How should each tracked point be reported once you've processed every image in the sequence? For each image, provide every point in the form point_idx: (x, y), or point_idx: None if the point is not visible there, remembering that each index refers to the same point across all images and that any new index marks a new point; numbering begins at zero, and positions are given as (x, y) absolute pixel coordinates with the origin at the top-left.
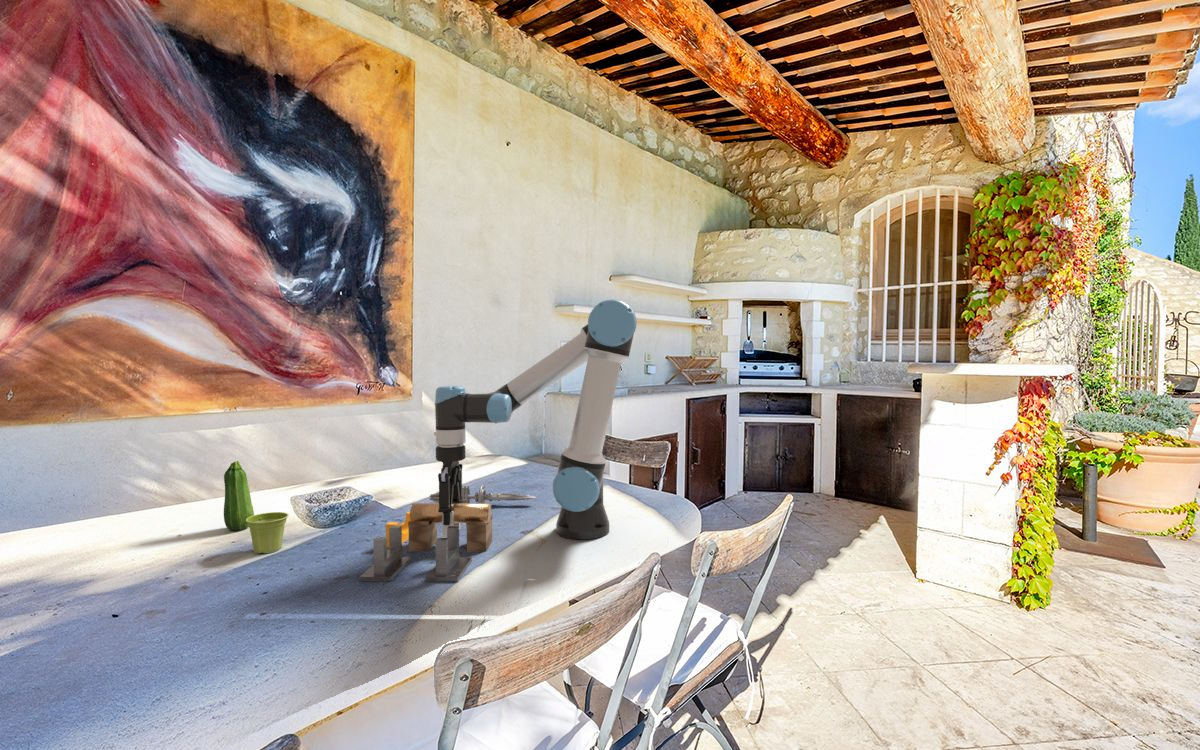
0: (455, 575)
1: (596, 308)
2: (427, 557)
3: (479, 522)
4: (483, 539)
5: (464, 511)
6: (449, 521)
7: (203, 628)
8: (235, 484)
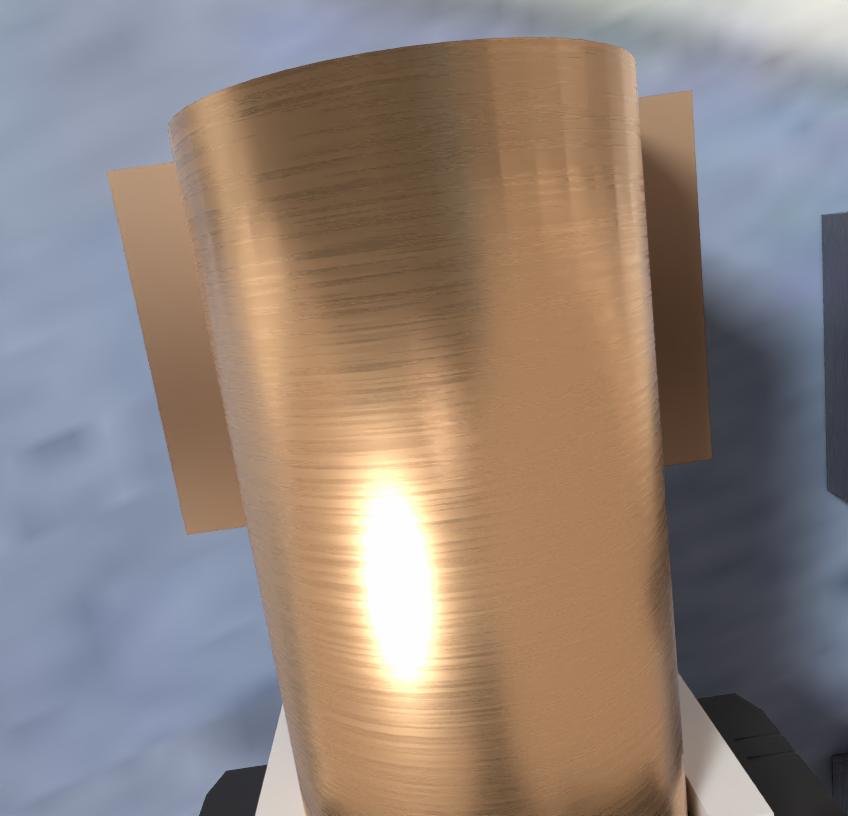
0: None
1: None
2: (737, 667)
3: (698, 216)
4: None
5: (668, 608)
6: (743, 729)
7: None
8: None
